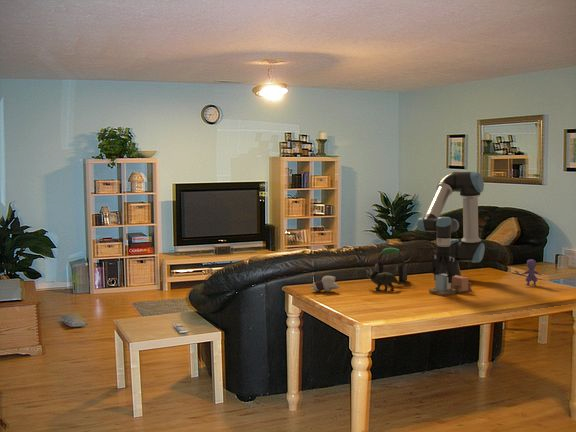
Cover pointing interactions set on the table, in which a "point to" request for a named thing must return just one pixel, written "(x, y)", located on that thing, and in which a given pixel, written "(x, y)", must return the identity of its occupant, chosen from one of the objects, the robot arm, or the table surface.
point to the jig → (452, 291)
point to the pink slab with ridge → (459, 282)
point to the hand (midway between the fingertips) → (442, 287)
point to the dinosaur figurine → (382, 279)
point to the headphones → (401, 266)
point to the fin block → (441, 282)
